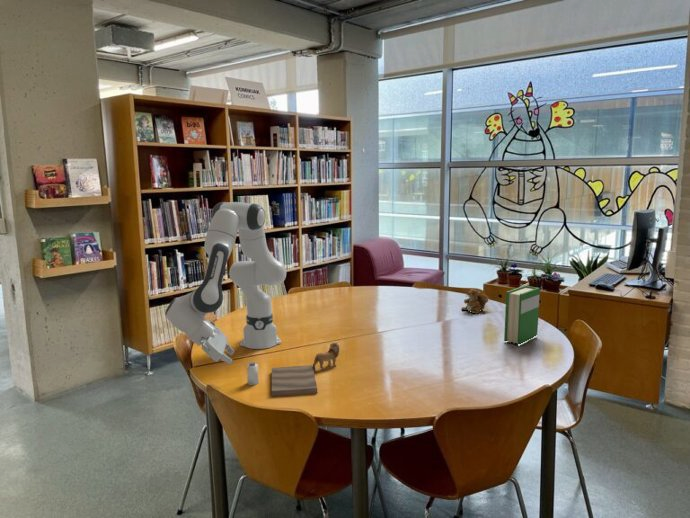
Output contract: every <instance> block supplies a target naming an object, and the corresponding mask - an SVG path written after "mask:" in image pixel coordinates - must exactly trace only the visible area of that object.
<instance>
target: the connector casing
mask: <svg viewBox="0 0 690 518" xmlns="http://www.w3.org/2000/svg"><path fill="white" fill-rule="evenodd" d="M246 375H247V377H246V378H247V385H249V386H256V385H258V384H259V364H258V363H256V362H255V361H251V362H249V364H247V365H246Z"/></svg>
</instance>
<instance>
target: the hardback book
mask: <svg viewBox="0 0 690 518" xmlns="http://www.w3.org/2000/svg"><path fill="white" fill-rule="evenodd" d="M540 289H541V288H540V287H537V286H536V287H534V286H528V285H523V286H522V285H521V286H520V287H517V288H514V289H511V290H507V291H506V292H505V311H504V312H505V313H504V332H503V333H504V335H503V342H504V341H509V342H508V343H511V342H513V343H512V344H515V343H517V344H521V343H523V342H525V341H527V340H529V339H531V338H533V337H534V336H536V335H537V336H538V332H539V331H538V329H539V326H538V325H539V311H540V309H539V308H540V307H539V306H540V294H541V293H540V291H541V290H540ZM517 344H516V345H517Z"/></svg>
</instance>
